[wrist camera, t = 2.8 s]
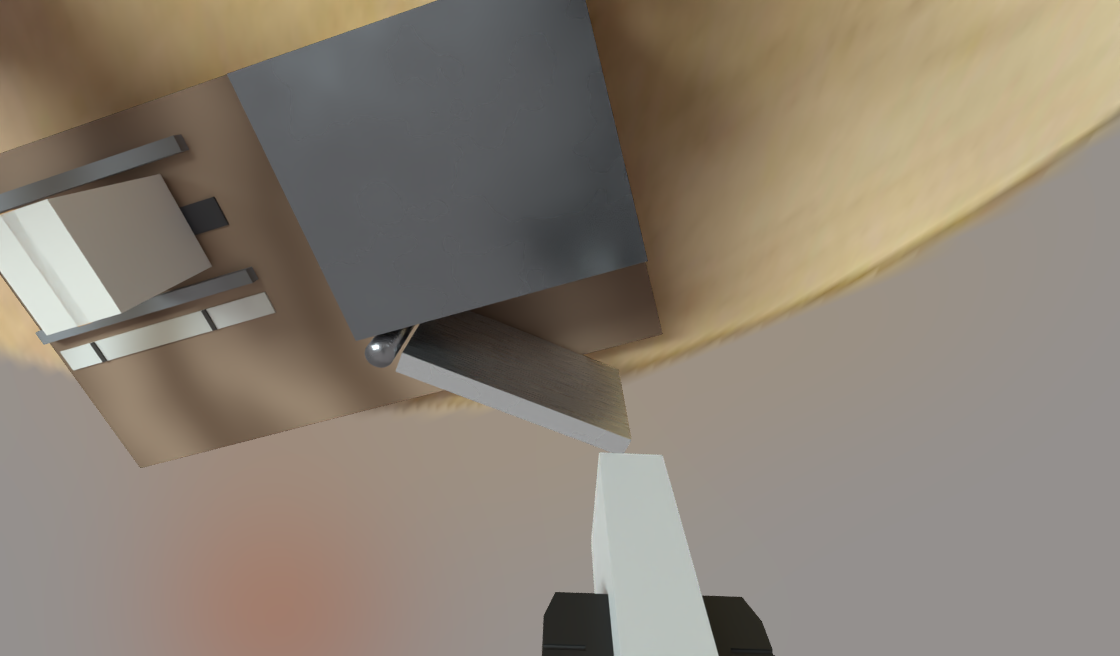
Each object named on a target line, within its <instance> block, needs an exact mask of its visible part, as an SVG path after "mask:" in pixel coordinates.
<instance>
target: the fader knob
mask: <svg viewBox="0 0 1120 656" xmlns="http://www.w3.org/2000/svg"><path fill="white" fill-rule="evenodd" d="M210 267H212V265H211V263H210V262H209V260H208V258H207V256H206V254H205V253H204V251H203V249H202V247H201V246H200V244H199V242H198V240H197V238H196V237H195V235H194V233H193V231H192V230H191V228H190V226H189V224H188V223H187V221H186V219H185V217H184V215H183V214H182V212H181V210H180V208H179V207H178V205H177V203H176V201H175V199H174V198H173V196H172V194H171V192H170V191H169V189H168V187H167V185H166V183H165V182H164V180H163V178H162V176H161V175H160V174H157V175H153V176H148V177H144V178H139V179H135V180H130V181H126V182H122V183H117V184H113V185H108V186H104V187H99V188H95V189H90V190H86V191H81V192H77V193H72V194H68V195H63V196H59V197H55V198H50V199H46V200H43V201H40V202H37V203H34V204H31V205H28V206H25V207H22V208H18V209H14V210H11V211H8V212H5V213H2V214H0V272H1V273H2V274H3V276H4V277H5V279H6V280H7V281H8V283H9V284H10V286H11V287H12V288H13V290H14V291H15V292H16V294H17V295H18V297H19V298H20V299H21V301H22V302H23V304H24V305H25V306H26V308H27V309H28V310H29V312H30V313H31V315H32V316H33V317H34V319H35V320H36V322H37V323H38V324H39V326H40V327H41V328H42V330H43V331H44V333H45V334H46V335H50V334H54V333H57V332H60V331H64V330H67V329H70V328H74V327H77V326H78V327H79V326H83V325H86V324H89V323H92V322H94V321H97V320H101V319H104V318H107V317H111V316H114V315H118V314H121V313H123V312H125V311H127V310H129V309H131V308H133V307H135V306H137V305H139V304H140V303H142V302H144V301H146V300H148V299H150V298H152V297H154V296H156V295H158V294H160V293H162V292H164V291H166V290H168V289H169V288H171V287H173V286H175V285H177V284H179V283H181V282H183V281H185V280H187V279H189V278H191V277H193V276H195V275H196V274H198V273H200V272H202V271H204V270H206V269H208V268H210Z"/></svg>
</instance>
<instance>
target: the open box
mask: <svg viewBox="0 0 1120 656" xmlns="http://www.w3.org/2000/svg"><path fill="white" fill-rule="evenodd" d="M227 76H228V78H229V80H230V82H231V84H232V86H233V88H234V90H235V92H236V94H237V96H238V98H239V100H240V102H241V105H242V107H243V109H244V111H245V113H246V115H247V117H248V119H249V121H250V123H251V125H252V127H253V129H254V131H255V133H256V136H257V138H258V140H259V142H260V144H261V146H262V148H263V150H264V152H265V154H266V156H267V158H268V160H269V162H270V165H271V167H272V169H273V171H274V173H275V175H276V177H277V179H278V181H279V183H280V185H281V187H282V189H283V191H284V194H285V196H286V198H287V200H288V202H289V204H290V206H291V208H292V210H293V212H294V214H295V216H296V218H297V220H298V222H299V225H300V227H301V229H302V231H303V233H304V235H305V237H306V239H307V241H308V243H309V245H310V247H311V249H312V251H313V254H314V256H315V258H316V260H317V262H318V264H319V266H320V268H321V270H322V272H323V274H324V276H325V278H326V280H327V282H328V285H329V287H330V289H331V291H332V293H333V295H334V297H335V299H336V301H337V303H338V305H339V307H340V309H341V311H342V314H343V316H344V318H345V320H346V322H347V324H348V326H349V328H350V330H351V332H352V334H353V336H354V338H355V340H356V341H358V340H362V339H366V338H369V337H373V336H376V335H380V334H384V333H387V332H391V331H395V330H398V329H402V328H406V327H409V326H413V325H417V324H420V323H424V322H428V321H431V320H435V319H439V318H442V317H446V316H449V315H453V314H457V313H460V312H464V311H468V310H471V309H475V308H479V307H482V306H486V305H490V304H493V303H497V302H501V301H504V300H508V299H512V298H515V297H519V296H522V295H526V294H530V293H533V292H537V291H541V290H544V289H548V288H552V287H555V286H559V285H563V284H566V283H570V282H574V281H577V280H581V279H585V278H588V277H592V276H595V275H599V274H603V273H606V272H610V271H614V270H617V269H621V268H625V267H628V266H632V265H636V264H639V263H643V262H647V261H648V260H647V256H646V251H645V247H644V243H643V239H642V235H641V231H640V226H639V222H638V218H637V214H636V210H635V205H634V201H633V197H632V193H631V189H630V185H629V180H628V176H627V172H626V168H625V164H624V159H623V155H622V151H621V147H620V143H619V139H618V134H617V130H616V126H615V122H614V118H613V113H612V109H611V105H610V101H609V97H608V93H607V88H606V84H605V80H604V76H603V72H602V67H601V63H600V59H599V55H598V51H597V47H596V42H595V38H594V34H593V30H592V26H591V21H590V17H589V13H588V9H587V5H586V1H585V0H437V1H434V2H432V3H429V4H426V5H423V6H420V7H417V8H414V9H412V10H409V11H406V12H403V13H400V14H397V15H394V16H391V17H389V18H386V19H383V20H380V21H377V22H374V23H371V24H369V25H366V26H363V27H360V28H357V29H354V30H351V31H348V32H346V33H343V34H340V35H337V36H334V37H331V38H328V39H326V40H323V41H320V42H317V43H314V44H311V45H308V46H305V47H303V48H300V49H297V50H294V51H291V52H288V53H285V54H283V55H280V56H277V57H274V58H271V59H268V60H265V61H262V62H260V63H257V64H254V65H251V66H248V67H245V68H242V69H240V70H237V71H234V72H231V73H228V74H227Z"/></svg>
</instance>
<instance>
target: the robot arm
mask: <svg viewBox="0 0 1120 656" xmlns="http://www.w3.org/2000/svg"><path fill="white" fill-rule="evenodd" d="M591 546H592V561H593V576H594V590H595V594H594V593H565V592H555V594H554V596H553V598H552V600H551V602H550V604H549V606H548V608H547V610H546V612H545V614H544V623H543V644H542V656H775V655H773V653H772V647H771V645H770V642H769V639H768V636H767V634H766V631H765V629H764V626H763V623H762V621H761V620H760V619H759V617H758V616H757V615H756V614H755V612H754V611H753V610H752V609H751V608H750V607H749V605H748V604H747V603H746V602H745V600H744V599H743V598H742V597H725V596H702V595H701V591H700V587H699V584H698V580H697V576H696V573H695V569H694V566H693V562H692V559H691V555H690V552H689V548H688V544H687V541H686V537H685V533H684V530H683V526H682V523H681V519H680V516H679V512H678V509H677V505H676V501H675V498H674V494H673V490H672V487H671V483H670V480H669V477H668V472H667V469H666V465H665V462H664V458H663V455H650V454H625V453H599V460H598V471H597V482H596V494H595V506H594V516H593V527H592V539H591Z"/></svg>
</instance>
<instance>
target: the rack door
mask: <svg viewBox="0 0 1120 656" xmlns="http://www.w3.org/2000/svg"><path fill="white" fill-rule="evenodd" d="M414 326H415V325H413V326H409V327H406V328H402V329H398V330H395V331H391V332H387V333H384V334H380V335H376V336H374V338H373V339H372V340H371V342H370V343H369V344H368V345H367V347H366V349H365V357H366V359H367V361H368V362H369V363H370V364H371V365H373V366H375V367H379V368H383V367H387V366H389V365H390V364H391V363H392V362H393V360H394V358H395V357H396V355H397V354H398V352H399V350H400V349H401V347H402V346H403V344H404V342H405V341H406V339H407V338H408V336H409V334H410V333H411V331H412V330H413V328H414ZM395 372H398V373H401V374H403V375H406V376H409V377H411V378H414V379H417V380H419V381H422V382H425V383H427V384H430V385H433V386H436V387H438V388H441V389H444V390H446V391H449V392H452V393H454V394H457V395H460V396H462V397H465V398H468V399H470V400H473V401H476V402H478V403H481V404H484V405H486V406H489V407H492V408H494V409H497V410H500V411H502V412H505V413H508V414H510V415H513V416H516V417H518V418H521V419H524V420H527V421H529V422H532V423H535V424H537V425H540V426H542V427H545V428H548V429H550V430H553V431H556V432H559V433H561V434H564V435H566V436H569V437H572V438H574V439H577V440H580V441H582V442H585V443H588V444H590V445H593V446H596V447H598V448H601V449H604V450H606V451H609V452H612V453H624V452H625V450H626V448H627V447H628V445H629V443H630V442H631V435H630V429H629V424H628V418H627V412H626V407H625V401H624V396H623V390H622V385H621V379H620V374H619V370H618V369H616V368H613V367H611V366H608V365H606V364H603V363H601V362H598V361H596V360H593V359H591V358H588V357H586V356H583V355H581V354H578V353H576V352H573V351H571V350H568V349H566V348H563V347H561V346H558V345H556V344H553V343H551V342H548V341H546V340H543V339H541V338H538V337H536V336H533V335H531V334H528V333H526V332H523V331H521V330H518V329H516V328H513V327H511V326H508V325H506V324H503V323H501V322H498V321H496V320H493V319H491V318H488V317H486V316H483V315H481V314H478V313H476V312H473V311H471V310H468V311H464V312H460V313H457V314H453V315H449V316H446V317H442V318H439V319H435V320H431V321H428V322H424V323H420V324H419V326H418V327H417V329H416V331H415V332H414V334H413V336H412V337H411V339H410V341H409V342H408V344H407V346H406V347H405V349H404V350H403V352H402V354H401V357H400V360H399V363H398V366H397V368H396V371H395Z"/></svg>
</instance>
